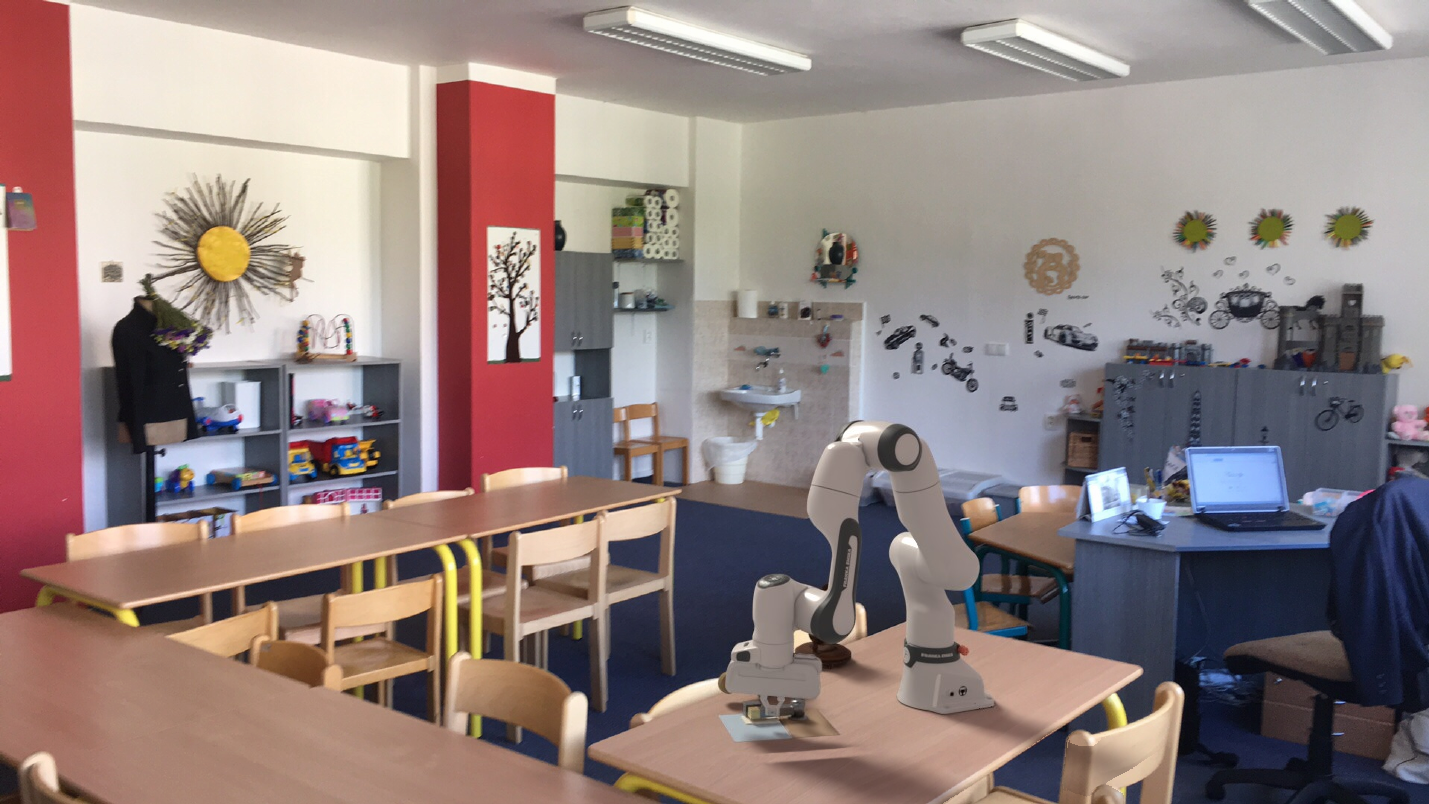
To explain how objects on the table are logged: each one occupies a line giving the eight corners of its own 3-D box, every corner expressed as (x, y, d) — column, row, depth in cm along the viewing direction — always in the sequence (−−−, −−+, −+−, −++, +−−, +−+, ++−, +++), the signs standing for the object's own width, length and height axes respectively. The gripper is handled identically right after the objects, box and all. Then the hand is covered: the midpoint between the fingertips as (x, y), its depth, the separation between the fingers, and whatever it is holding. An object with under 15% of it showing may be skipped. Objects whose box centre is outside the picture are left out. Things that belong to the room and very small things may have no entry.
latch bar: (801, 711, 239) (802, 697, 239) (807, 716, 236) (807, 702, 236) (747, 716, 235) (747, 702, 235) (751, 721, 232) (752, 707, 232)
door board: (772, 718, 240) (772, 710, 240) (792, 744, 225) (792, 736, 225) (718, 722, 237) (718, 714, 237) (734, 749, 222) (735, 740, 222)
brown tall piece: (835, 673, 271) (837, 596, 270) (784, 662, 279) (786, 586, 278) (860, 659, 284) (863, 584, 282) (811, 648, 292) (813, 576, 290)
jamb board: (817, 715, 242) (817, 708, 242) (840, 741, 228) (840, 733, 228) (774, 718, 240) (774, 710, 240) (794, 744, 225) (795, 736, 225)
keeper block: (758, 713, 239) (758, 700, 238) (760, 717, 236) (761, 703, 236) (742, 714, 238) (743, 701, 238) (745, 718, 236) (745, 704, 235)
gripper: (823, 650, 230) (822, 713, 231) (729, 643, 234) (729, 705, 235) (820, 659, 223) (819, 724, 225) (723, 653, 227) (723, 716, 229)
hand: (772, 714), depth 230 cm, fingers closed
